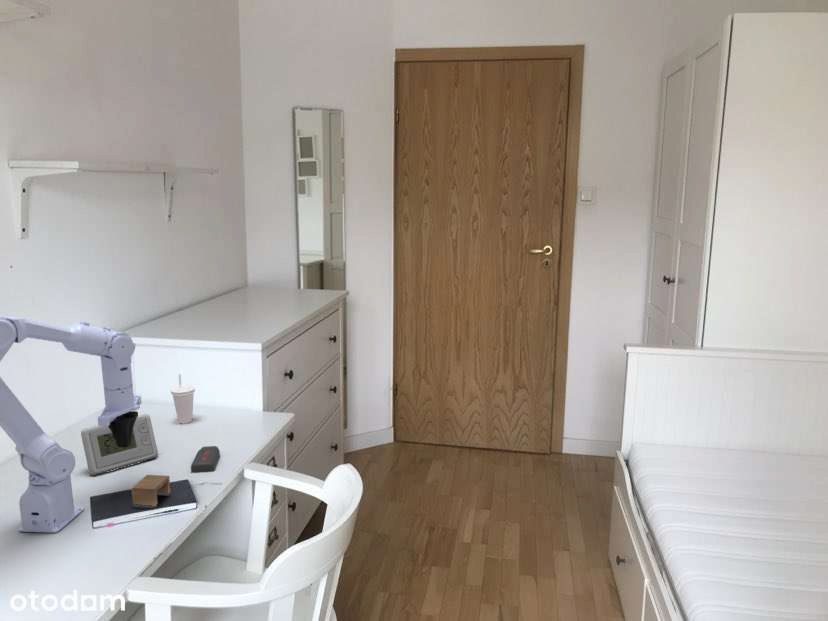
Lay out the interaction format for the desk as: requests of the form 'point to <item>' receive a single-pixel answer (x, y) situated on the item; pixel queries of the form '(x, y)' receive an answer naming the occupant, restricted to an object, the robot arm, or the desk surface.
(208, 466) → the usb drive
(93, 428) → the digital clock
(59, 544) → the desk surface
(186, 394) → the smoothie
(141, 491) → the open wooden box
